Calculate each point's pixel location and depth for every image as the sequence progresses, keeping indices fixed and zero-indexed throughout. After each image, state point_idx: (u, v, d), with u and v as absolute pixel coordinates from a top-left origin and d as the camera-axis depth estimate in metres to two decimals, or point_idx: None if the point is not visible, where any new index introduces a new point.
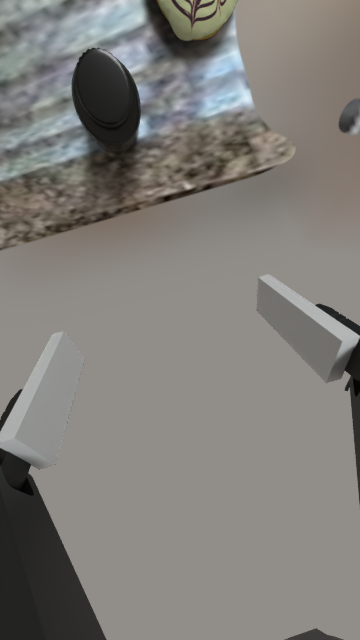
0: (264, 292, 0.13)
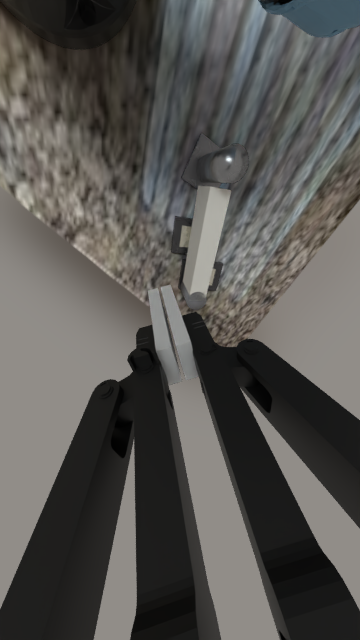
0: None
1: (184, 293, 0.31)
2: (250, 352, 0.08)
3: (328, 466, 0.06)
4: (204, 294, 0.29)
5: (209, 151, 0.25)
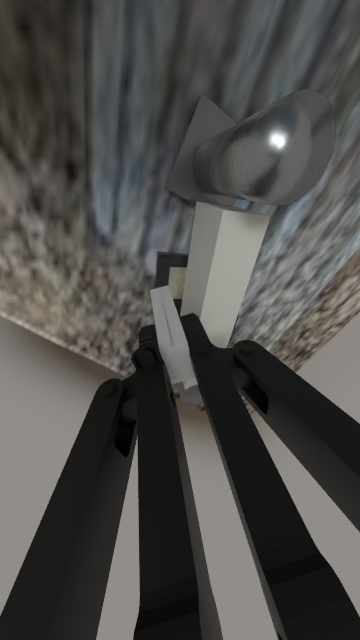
0: None
1: None
2: (246, 353, 0.08)
3: (325, 467, 0.06)
4: None
5: (217, 132, 0.12)
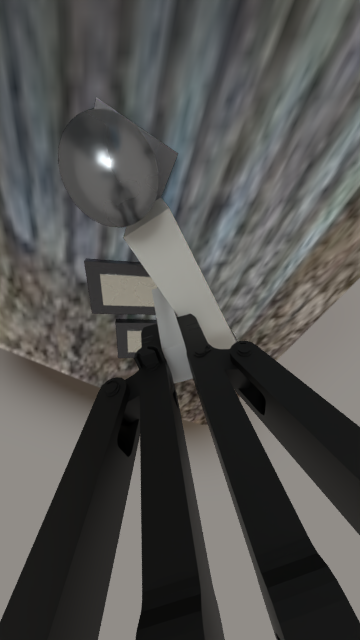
0: None
1: None
2: (243, 354, 0.08)
3: (322, 467, 0.06)
4: None
5: None
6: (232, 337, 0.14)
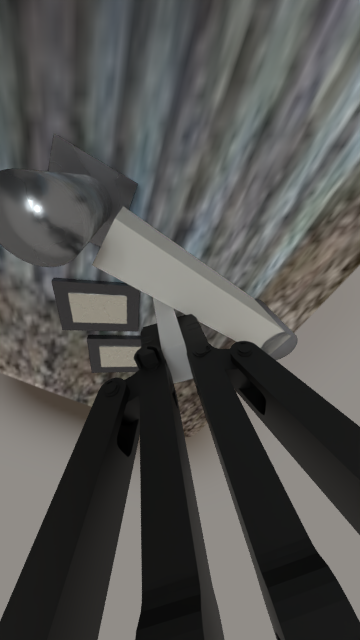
0: None
1: None
2: (243, 354, 0.08)
3: (322, 467, 0.06)
4: (279, 333, 0.15)
5: (81, 170, 0.12)
6: (249, 310, 0.13)
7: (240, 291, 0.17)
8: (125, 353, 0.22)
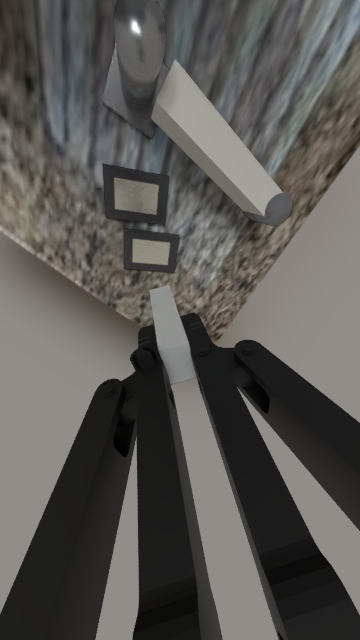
0: None
1: (257, 219, 0.23)
2: (247, 353, 0.08)
3: (326, 467, 0.06)
4: (279, 194, 0.20)
5: None
6: (258, 164, 0.18)
7: None
8: (153, 248, 0.26)
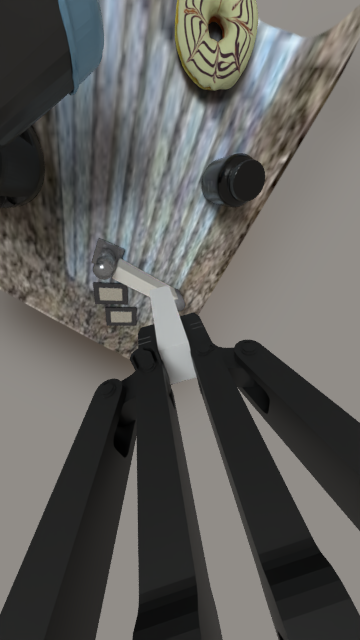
0: None
1: None
2: (247, 353, 0.08)
3: (326, 467, 0.06)
4: (176, 299, 0.41)
5: (106, 247, 0.39)
6: None
7: (165, 285, 0.43)
8: (122, 315, 0.48)
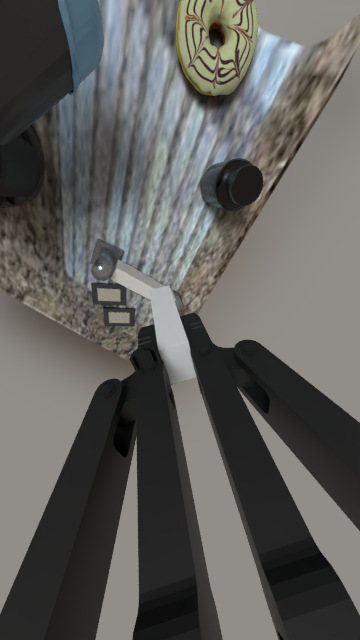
0: None
1: None
2: (248, 353, 0.08)
3: (326, 466, 0.06)
4: None
5: (105, 248, 0.39)
6: None
7: None
8: (120, 316, 0.48)
